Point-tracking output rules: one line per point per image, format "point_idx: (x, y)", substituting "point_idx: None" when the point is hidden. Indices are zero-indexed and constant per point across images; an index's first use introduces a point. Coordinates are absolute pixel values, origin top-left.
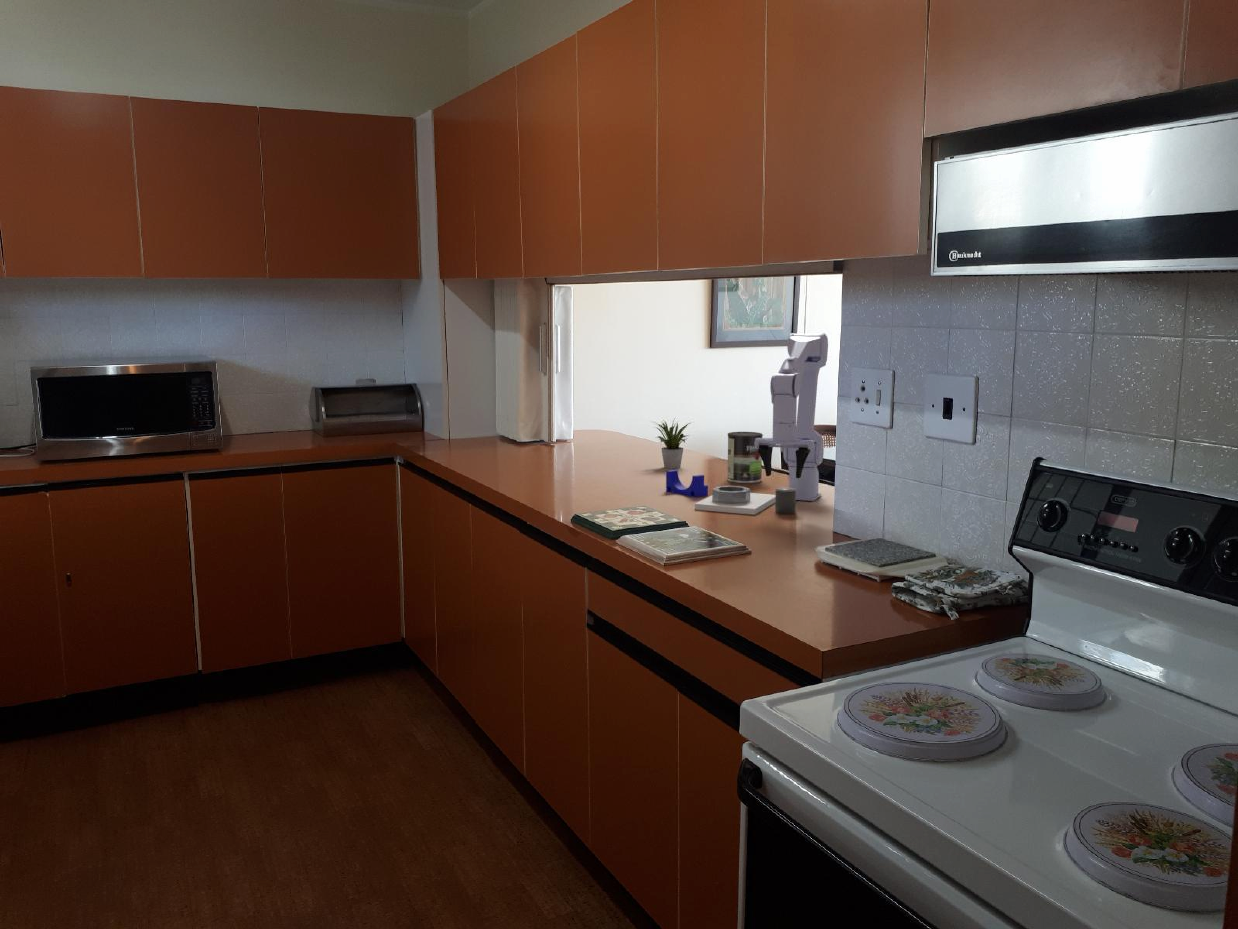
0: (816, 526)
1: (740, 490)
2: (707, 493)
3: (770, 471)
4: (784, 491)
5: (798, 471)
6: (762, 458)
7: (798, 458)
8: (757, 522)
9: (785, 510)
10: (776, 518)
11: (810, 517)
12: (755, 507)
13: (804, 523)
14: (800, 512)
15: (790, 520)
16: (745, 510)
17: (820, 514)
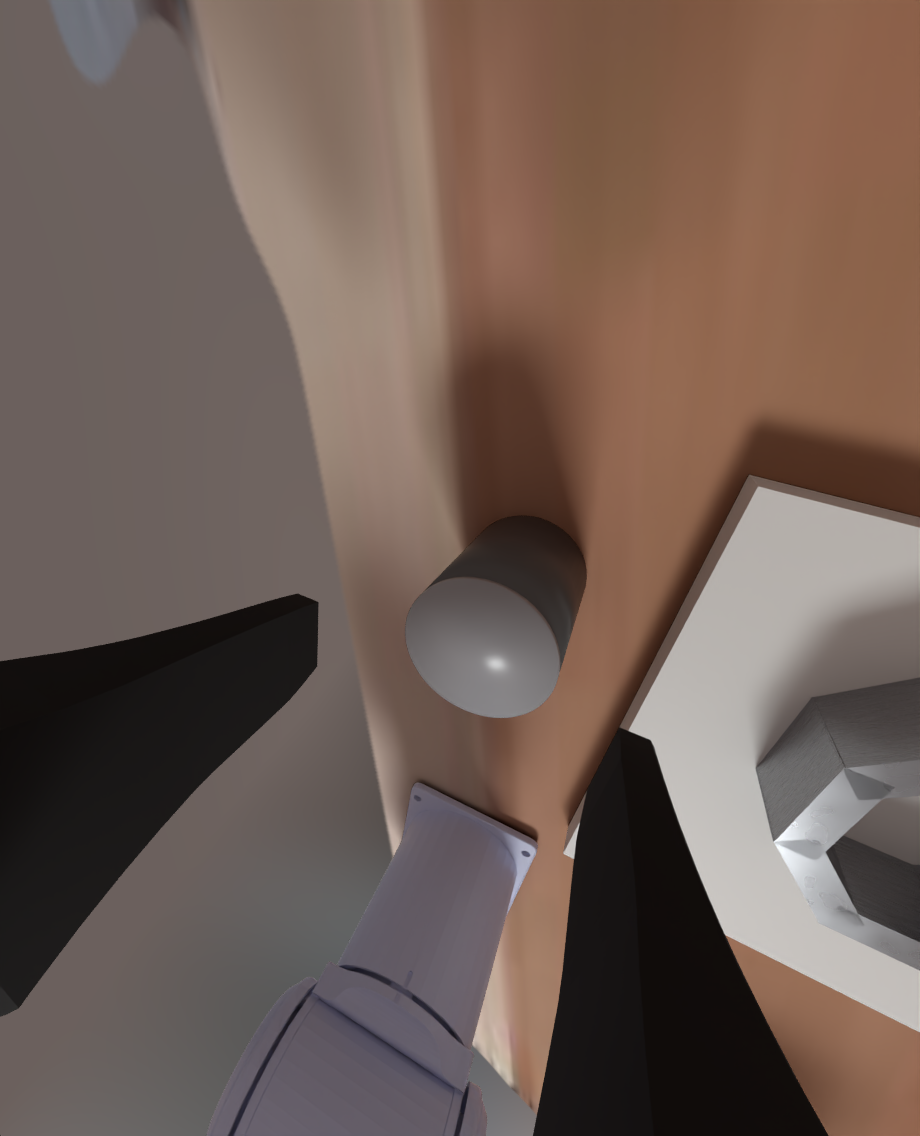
0: (306, 160)
1: (848, 887)
2: None
3: (589, 813)
4: (482, 577)
5: (233, 616)
6: (777, 1083)
7: (12, 699)
8: (768, 132)
9: (515, 523)
10: (580, 376)
11: (382, 453)
12: (746, 543)
13: (387, 245)
14: None
15: (482, 328)
16: (848, 503)
17: (350, 537)
